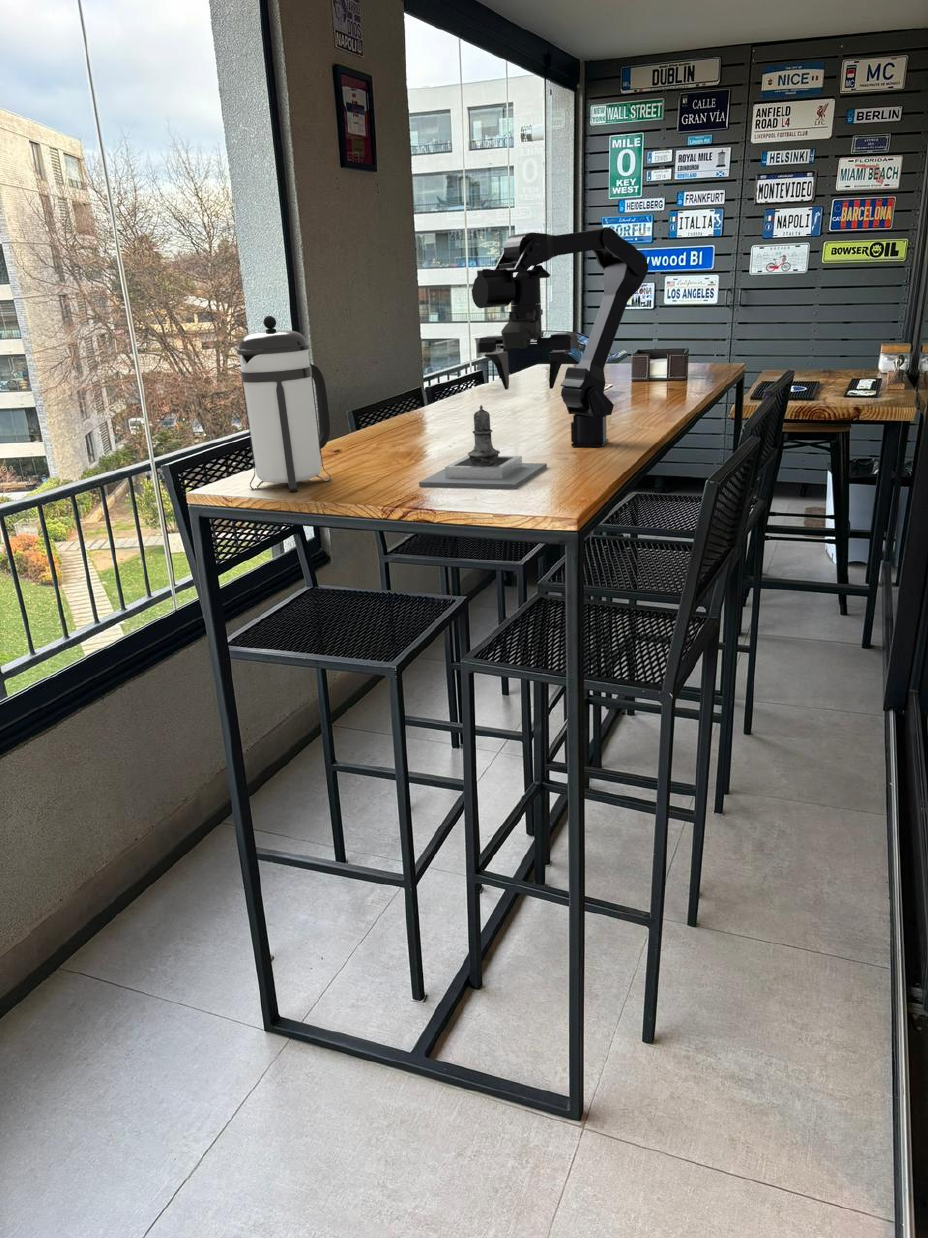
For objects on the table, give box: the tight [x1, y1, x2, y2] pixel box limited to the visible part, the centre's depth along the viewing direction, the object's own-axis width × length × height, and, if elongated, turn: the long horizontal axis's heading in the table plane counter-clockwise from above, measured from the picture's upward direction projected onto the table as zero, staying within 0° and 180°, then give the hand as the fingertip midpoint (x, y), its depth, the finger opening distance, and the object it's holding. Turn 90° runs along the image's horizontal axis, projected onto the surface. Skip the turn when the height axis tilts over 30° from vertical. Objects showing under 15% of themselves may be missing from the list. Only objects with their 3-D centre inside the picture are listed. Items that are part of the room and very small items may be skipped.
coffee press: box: [235, 315, 331, 493], centre depth 165 cm, size 17×16×30 cm
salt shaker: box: [467, 404, 501, 466], centre depth 163 cm, size 6×6×12 cm
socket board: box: [418, 462, 548, 490], centre depth 165 cm, size 18×18×1 cm
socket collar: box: [444, 455, 523, 479], centre depth 164 cm, size 11×11×2 cm
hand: (528, 388), depth 178 cm, fingers open, 9 cm apart
